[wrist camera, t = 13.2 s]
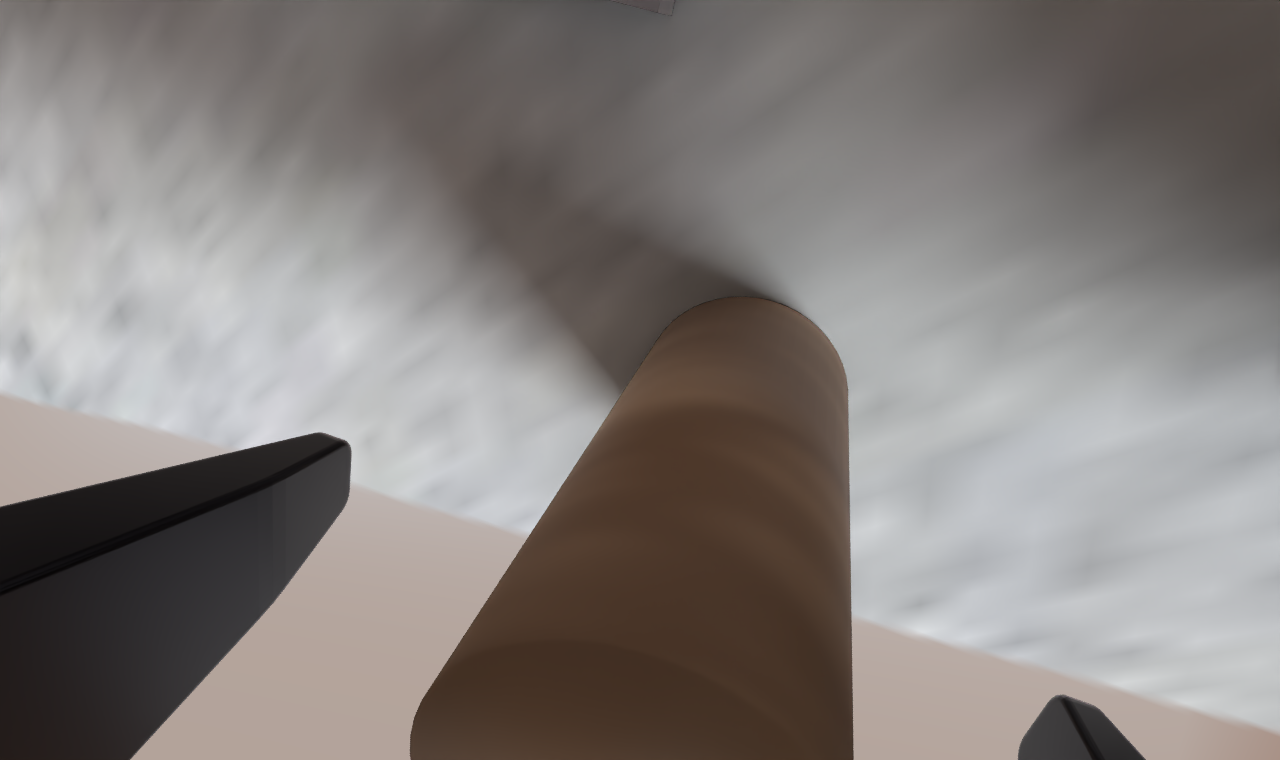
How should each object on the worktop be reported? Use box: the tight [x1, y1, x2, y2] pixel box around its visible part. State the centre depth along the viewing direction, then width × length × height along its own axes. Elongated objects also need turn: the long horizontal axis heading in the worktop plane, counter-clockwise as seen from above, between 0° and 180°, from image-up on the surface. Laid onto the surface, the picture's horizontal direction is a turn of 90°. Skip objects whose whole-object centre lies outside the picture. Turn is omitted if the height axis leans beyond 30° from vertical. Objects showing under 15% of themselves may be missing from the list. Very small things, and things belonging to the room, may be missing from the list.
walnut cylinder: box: [410, 297, 853, 760], centre depth 10 cm, size 4×4×9 cm
